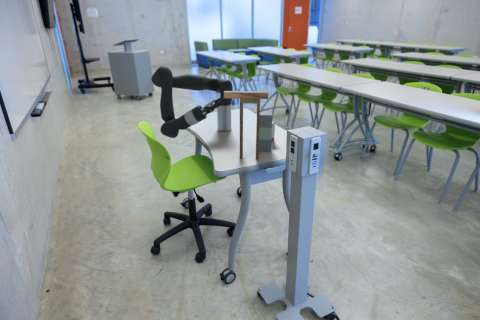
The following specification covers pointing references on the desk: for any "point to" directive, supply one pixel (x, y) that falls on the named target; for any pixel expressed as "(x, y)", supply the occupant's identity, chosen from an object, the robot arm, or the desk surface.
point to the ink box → (273, 131)
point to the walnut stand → (253, 101)
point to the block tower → (265, 131)
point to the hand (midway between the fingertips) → (222, 100)
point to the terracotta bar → (245, 94)
